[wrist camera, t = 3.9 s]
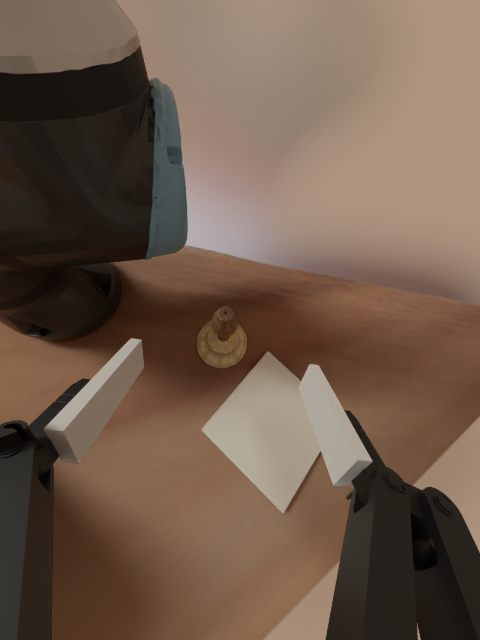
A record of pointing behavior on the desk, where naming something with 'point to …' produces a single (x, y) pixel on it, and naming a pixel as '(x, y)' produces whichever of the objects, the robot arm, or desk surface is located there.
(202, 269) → the desk surface
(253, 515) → the desk surface
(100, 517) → the desk surface
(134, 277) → the desk surface
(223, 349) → the hand bell
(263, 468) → the mat
